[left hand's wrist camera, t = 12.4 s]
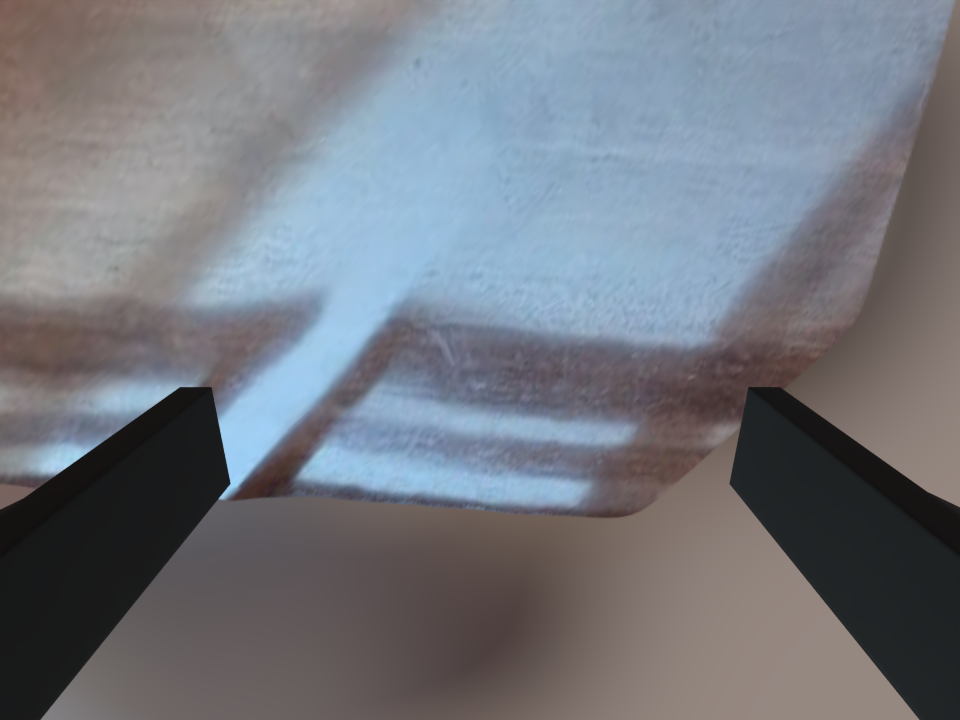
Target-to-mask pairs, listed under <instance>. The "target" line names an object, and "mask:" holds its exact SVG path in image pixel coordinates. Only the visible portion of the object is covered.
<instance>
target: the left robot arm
mask: <svg viewBox="0 0 960 720" xmlns="http://www.w3.org/2000/svg"><path fill="white" fill-rule="evenodd" d="M229 485H230V479H229V474H228V469H227V463H226V458H225V453H224V448H223V443H222V438H221V433H220V428H219V423H218V418H217V413H216V408H215V403H214V398H213V393H212V388H211V387H180V388H178V389H177V390H176V391H174V392H173V393H171V394H170V395H168V396H167V397H166V398H164V399H163V400H161V401H160V402H159V403H157V404H156V405H154V406H153V407H152V408H150V409H149V410H147V411H146V412H145V413H143V414H142V415H140V416H139V417H138V418H136V419H135V420H133V421H132V422H131V423H129V424H128V425H126V426H125V427H123V428H122V429H121V430H119V431H118V432H116V433H115V434H114V435H112V436H111V437H109V438H108V439H107V440H105V441H104V442H102V443H101V444H100V445H98V446H97V447H95V448H94V449H93V450H91V451H90V452H88V453H87V454H85V455H84V456H83V457H81V458H80V459H78V460H77V461H76V462H74V463H73V464H71V465H70V466H69V467H67V468H66V469H64V470H63V471H62V472H60V473H59V474H57V475H56V476H55V477H53V478H52V479H50V480H49V481H47V482H46V483H45V484H43V485H42V486H40V487H39V488H38V489H36V490H35V491H33V492H32V493H31V494H29V495H28V496H26V497H25V498H24V499H21V500H19V501H17V502H15V503H13V504H11V505H9V506H7V507H5V508H3V509H1V510H0V720H41V718H42V717H43V716H44V715H45V713H46V712H47V711H48V710H49V708H50V707H51V706H52V705H53V703H54V702H55V701H56V700H57V698H58V697H59V696H60V695H61V693H62V692H63V691H64V690H65V689H66V687H67V686H68V685H69V684H70V682H71V681H72V680H73V679H74V677H75V676H76V675H77V674H78V672H79V671H80V670H81V669H82V667H83V666H84V665H85V664H86V662H87V661H88V660H89V659H90V657H91V656H92V655H93V654H94V653H95V651H96V650H97V649H98V648H99V646H100V645H101V644H102V643H103V641H104V640H105V639H106V638H107V636H108V635H109V634H110V633H111V631H112V630H113V629H114V628H115V626H116V625H117V624H118V623H119V622H120V620H121V619H122V618H123V617H124V615H125V614H126V613H127V612H128V610H129V609H130V608H131V607H132V605H133V604H134V603H135V602H136V600H137V599H138V598H139V597H140V595H141V594H142V593H143V592H144V590H145V589H146V588H147V587H148V586H149V584H150V583H151V582H152V581H153V579H154V578H155V577H156V576H157V574H158V573H159V572H160V571H161V569H162V568H163V567H164V566H165V564H166V563H167V562H168V561H169V559H170V558H171V557H172V556H173V554H174V553H175V552H176V551H177V550H178V548H179V547H180V546H181V544H182V543H183V542H184V541H185V540H186V538H187V537H188V536H189V535H190V533H191V532H192V531H193V530H194V528H195V527H196V526H197V525H198V523H199V522H200V521H201V520H202V518H203V517H204V516H205V515H206V514H207V512H208V511H209V510H210V509H211V507H212V506H213V505H214V504H215V502H216V501H217V500H218V499H219V497H220V496H221V495H222V494H223V492H224V491H225V490H226V489H227V487H228V486H229ZM730 485H731V486H732V487H733V489H734V490H735V491H736V492H737V494H738V495H739V496H740V497H741V499H742V500H743V501H744V502H745V504H746V505H747V506H748V507H749V509H750V510H751V511H752V512H753V513H754V515H755V516H756V517H757V518H758V520H759V521H760V522H761V523H762V525H763V526H764V527H765V528H766V530H767V531H768V532H769V533H770V535H771V536H772V537H773V538H774V540H775V541H776V542H777V543H778V545H779V546H780V547H781V548H782V550H783V551H784V552H785V553H786V554H787V556H788V557H789V558H790V559H791V561H792V562H793V563H794V564H795V566H796V567H797V568H798V569H799V571H800V572H801V573H802V574H803V576H804V577H805V578H806V579H807V581H808V582H809V583H810V584H811V585H812V587H813V588H814V589H815V590H816V592H817V593H818V594H819V595H820V597H821V598H822V599H823V600H824V602H825V603H826V604H827V605H828V607H829V608H830V609H831V610H832V612H833V613H834V614H835V615H836V617H837V618H838V619H839V620H840V622H841V623H842V624H843V625H844V626H845V628H846V629H847V630H848V631H849V633H850V634H851V635H852V636H853V638H854V639H855V640H856V641H857V643H858V644H859V645H860V646H861V648H862V649H863V650H864V651H865V653H866V654H867V655H868V656H869V657H870V659H871V660H872V661H873V662H874V664H875V665H876V666H877V667H878V669H879V670H880V671H881V672H882V674H883V675H884V676H885V677H886V679H887V680H888V681H889V682H890V684H891V685H892V686H893V687H894V688H895V690H896V691H897V692H898V693H899V695H900V696H901V697H902V698H903V700H904V701H905V702H906V703H907V705H908V706H909V707H910V708H911V710H912V711H913V712H914V713H915V715H916V716H917V717H918V718H919V720H960V507H958V506H956V505H954V504H952V503H949V502H947V501H945V500H943V499H941V498H939V497H937V496H935V495H933V494H931V493H928V492H927V491H925V490H924V489H922V488H921V487H920V486H918V485H917V484H915V483H914V482H913V481H911V480H910V479H908V478H907V477H905V476H904V475H903V474H901V473H900V472H898V471H897V470H896V469H894V468H893V467H891V466H890V465H889V464H887V463H886V462H884V461H883V460H882V459H880V458H879V457H877V456H876V455H874V454H873V453H872V452H870V451H869V450H867V449H866V448H865V447H863V446H862V445H860V444H859V443H858V442H856V441H855V440H853V439H852V438H851V437H849V436H848V435H846V434H845V433H844V432H842V431H841V430H839V429H838V428H837V427H835V426H834V425H832V424H831V423H829V422H828V421H827V420H825V419H824V418H822V417H821V416H820V415H818V414H817V413H815V412H814V411H813V410H811V409H810V408H808V407H807V406H806V405H804V404H803V403H801V402H800V401H799V400H797V399H796V398H794V397H793V396H792V395H790V394H789V393H787V392H786V391H784V390H783V389H782V388H780V387H749V388H748V393H747V398H746V403H745V408H744V413H743V418H742V423H741V428H740V433H739V438H738V443H737V448H736V453H735V459H734V464H733V469H732V474H731V479H730Z"/></svg>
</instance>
